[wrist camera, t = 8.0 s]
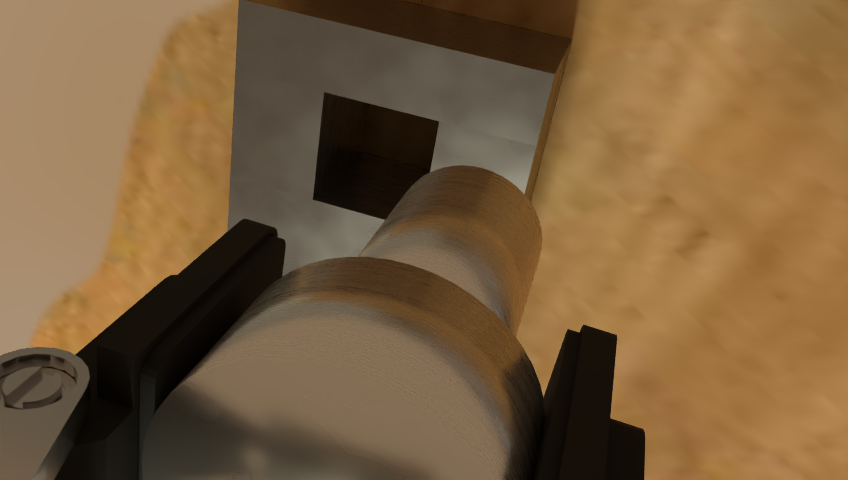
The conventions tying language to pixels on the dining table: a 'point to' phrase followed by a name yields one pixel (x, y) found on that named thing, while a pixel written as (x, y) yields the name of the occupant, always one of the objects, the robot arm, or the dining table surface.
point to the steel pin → (377, 356)
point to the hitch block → (383, 86)
